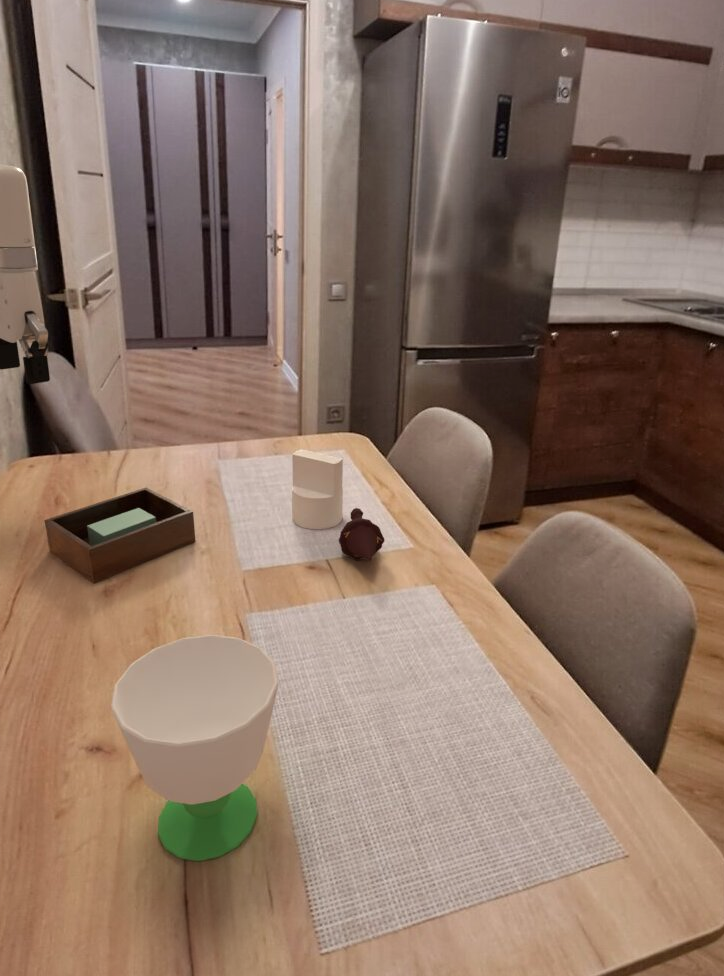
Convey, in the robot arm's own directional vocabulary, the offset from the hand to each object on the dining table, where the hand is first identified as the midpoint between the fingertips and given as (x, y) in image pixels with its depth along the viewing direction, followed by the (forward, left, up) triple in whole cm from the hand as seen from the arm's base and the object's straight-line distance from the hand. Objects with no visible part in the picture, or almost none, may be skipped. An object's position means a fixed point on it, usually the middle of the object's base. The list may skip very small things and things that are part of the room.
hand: (23, 375), depth 102 cm
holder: (+14, +6, -27) cm, 31 cm away
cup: (+66, -16, -27) cm, 73 cm away
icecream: (+44, +30, -27) cm, 59 cm away
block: (+14, +6, -26) cm, 30 cm away
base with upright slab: (+29, +35, -27) cm, 52 cm away
